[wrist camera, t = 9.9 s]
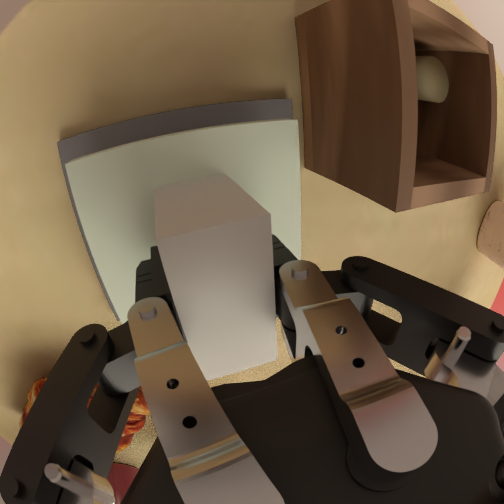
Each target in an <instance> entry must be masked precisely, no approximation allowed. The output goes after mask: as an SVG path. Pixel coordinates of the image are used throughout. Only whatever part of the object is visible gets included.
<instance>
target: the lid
mask: <svg viewBox="0 0 504 504" xmlns="http://www.w3.org/2000/svg"><path fill="white" fill-rule="evenodd" d="M65 167H66V171H67V175H68V179H69V183H70V187H71V191H72V194H73V198H74V201H75V205H76V208H77V211H78V215H79V218H80V221H81V224H82V227H83V230H84V233H85V236H86V239H87V242H88V245H89V248H90V250H91V253H92V256H93V258H94V261H95V264H96V266H97V269H98V271H99V274H100V276H101V279H102V281H103V283H104V286H105V288H106V290H107V293H108V295H109V297H110V299H111V302H112V304H113V306H114V308H115V310H116V313H117V315H118V317H119V319H120V321H121V323H122V324H124V323H125V322H126V321H127V320H128V318H127V314H128V311H129V309H130V308H131V307H132V305H134V304H135V284H136V268H137V267H138V265H139V264H140V262H141V261H144V260H148V259H151V250H150V247H152V246H158V250H159V254H160V257H161V261H162V264H163V268H164V271H165V275H166V278H167V281H168V285H169V288H170V291H171V294H172V298H173V301H174V304H175V307H176V310H177V313H178V316H179V319H180V322H181V325H182V328H183V331H184V334H185V336H186V339H187V342H188V345H189V348H190V350H191V352H192V354H193V356H194V358H195V360H196V362H197V364H198V365H199V367H200V369H201V371H202V373H203V375H204V377H205V379H206V381H208V380H212V379H216V378H220V377H223V376H227V375H230V374H234V373H237V372H240V371H244V370H247V369H250V368H253V367H257V366H260V365H263V364H266V363H269V362H272V361H275V360H277V333H276V308H275V285H274V265H273V246H272V234H273V235H276V237H277V238H278V239H279V240H280V241H281V242H282V243H283V244H284V245H285V247H287V248H288V249H289V250H290V251H291V252H292V253H293V255H294V256H295V257H296V258H297V259H298V260H301V186H300V154H299V132H298V120H297V119H274V120H262V121H252V122H242V123H234V124H226V125H219V126H212V127H205V128H199V129H193V130H187V131H182V132H177V133H172V134H167V135H162V136H157V137H153V138H148V139H144V140H140V141H135V142H131V143H128V144H124V145H120V146H116V147H113V148H109V149H105V150H102V151H99V152H95V153H92V154H89V155H86V156H82V157H79V158H76V159H73V160H71V161H69V162H68V163H66V164H65Z"/></svg>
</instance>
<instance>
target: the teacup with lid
mask: <svg viewBox="0 0 504 504" xmlns="http://www.w3.org/2000/svg"><path fill="white" fill-rule="evenodd" d="M477 246H478V250H479V252H480V253H481V254H483V255H484V256H486V257H487V258H489V259H490V260H492V261H493V262H495V263H496V264H498V265H499V266H500V267H502V268H503V269H504V203H503V202H501V201H495V202H494V203H492V205H491V206H490V207H489V209H488V210H487V212H486V214H485V216H484V219H483V221H482V224H481V227H480V231H479V235H478V241H477Z"/></svg>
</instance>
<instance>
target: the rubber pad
mask: <svg viewBox="0 0 504 504" xmlns="http://www.w3.org/2000/svg"><path fill="white" fill-rule="evenodd" d="M274 119H293V113H292V99H267V100H251V101H239V102H229V103H220V104H212V105H204V106H197V107H191V108H185V109H179V110H173V111H168V112H163V113H158V114H153V115H148V116H144V117H139V118H135V119H131V120H127V121H123V122H119V123H115V124H112V125H108V126H105V127H101V128H98V129H94V130H91V131H88V132H85V133H82V134H79V135H76V136H73V137H70V138H67V139H64V140H62V141H59V142H57V144H58V149H59V154H60V159H61V163H62V168H63V172H64V176H65V180H66V184H67V188H68V192H69V195H70V199H71V202H72V206H73V209H74V212H75V216H76V219H77V222H78V225H79V228H80V231H81V234H82V237H83V240H84V243H85V245H86V248H87V251H88V254H89V256H90V259H91V261H92V264H93V267H94V269H95V272H96V274H97V276H98V279H99V281H100V284H101V286H102V288H103V291H104V293H105V295H106V297H107V300H108V302H109V304H110V306H111V308H112V310H113V313H114V315H115V317H116V319H117V321H120V319H119V317H118V315H117V313H116V310H115V308H114V306H113V304H112V302H111V299H110V297H109V295H108V293H107V290H106V288H105V286H104V283H103V281H102V279H101V276H100V274H99V271H98V269H97V266H96V264H95V261H94V258H93V256H92V253H91V250H90V248H89V245H88V242H87V239H86V236H85V233H84V230H83V227H82V224H81V221H80V218H79V215H78V211H77V208H76V205H75V201H74V198H73V194H72V191H71V187H70V183H69V179H68V175H67V171H66V167H65V164H66V163H68V162H69V161H71V160H73V159H76V158H79V157H82V156H86V155H89V154H92V153H95V152H99V151H102V150H105V149H109V148H113V147H116V146H120V145H124V144H128V143H131V142H135V141H140V140H144V139H148V138H153V137H157V136H162V135H167V134H172V133H177V132H182V131H187V130H193V129H199V128H205V127H212V126H219V125H226V124H234V123H242V122H252V121H262V120H274Z"/></svg>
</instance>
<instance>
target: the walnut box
mask: <svg viewBox="0 0 504 504" xmlns="http://www.w3.org/2000/svg"><path fill="white" fill-rule="evenodd" d="M295 24H296V33H297V43H298V53H299V64H300V77H301V91H302V106H303V125H304V149H305V168H306V169H308V170H310V171H313V172H315V173H317V174H319V175H322V176H324V177H326V178H328V179H330V180H332V181H335V182H337V183H339V184H341V185H343V186H345V187H347V188H349V189H351V190H353V191H355V192H357V193H359V194H361V195H363V196H365V197H367V198H369V199H371V200H373V201H375V202H377V203H379V204H380V205H382V206H384V207H386V208H388V209H390V210H392V211H393V212H395V213H396V212H400V211H405V210H409V209H413V208H418V207H422V206H427V205H431V204H435V203H440V202H444V201H449V200H453V199H457V198H462V197H466V196H471V195H475V194H480V193H484V192H489V189H490V183H491V176H492V169H493V161H494V152H495V141H496V124H497V86H496V70H495V59H494V50H493V45H492V44H491V43H490V42H489V41H487V40H486V39H485V38H484V37H482V36H481V35H480V34H479V33H477V32H476V31H475V30H473V29H472V28H471V27H469V26H468V25H466V24H465V23H464V22H462V21H461V20H459V19H458V18H456V17H455V16H453V15H452V14H450V13H449V12H447V11H445V10H444V9H442V8H441V7H439V6H437V5H436V4H434V3H432V2H430V1H429V0H331V1H329V2H327V3H324V4H322V5H320V6H318V7H316V8H313V9H311V10H309V11H307V12H305V13H303V14H301V15H299V16H297V17H295Z"/></svg>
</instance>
